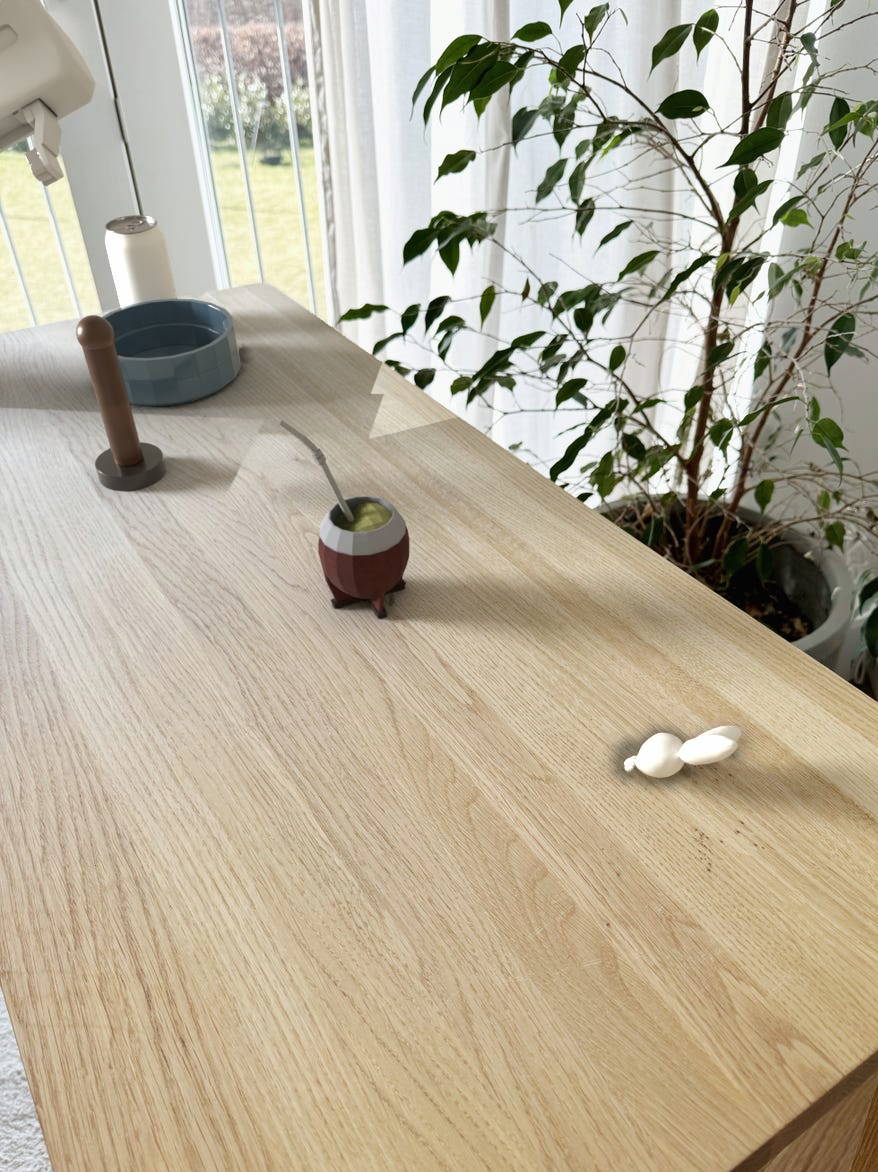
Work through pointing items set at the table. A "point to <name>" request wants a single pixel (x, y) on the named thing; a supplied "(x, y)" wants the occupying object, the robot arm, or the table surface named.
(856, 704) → the table surface
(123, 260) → the can
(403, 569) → the mate gourd
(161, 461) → the wooden handled press
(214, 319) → the bowl
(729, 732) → the rabbit figurine
